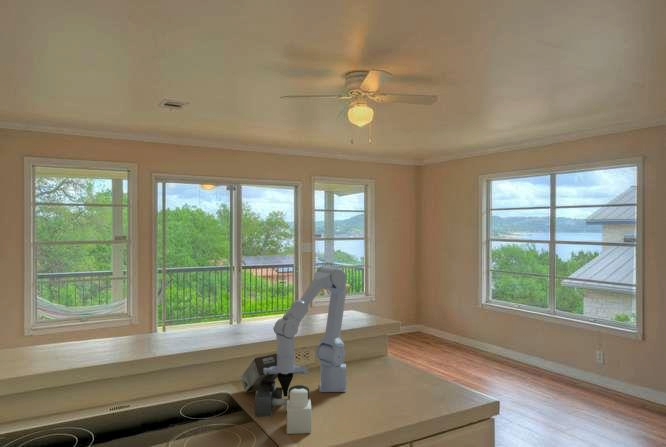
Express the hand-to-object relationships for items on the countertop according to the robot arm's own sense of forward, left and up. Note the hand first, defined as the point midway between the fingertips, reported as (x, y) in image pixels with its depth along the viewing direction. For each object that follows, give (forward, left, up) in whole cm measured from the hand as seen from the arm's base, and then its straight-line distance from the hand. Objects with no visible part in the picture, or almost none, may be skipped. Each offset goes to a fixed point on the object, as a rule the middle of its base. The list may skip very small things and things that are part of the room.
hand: (285, 395), depth 151 cm
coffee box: (+12, -13, 0) cm, 18 cm away
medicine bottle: (-5, +18, -3) cm, 19 cm away
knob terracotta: (+1, +7, -1) cm, 7 cm away
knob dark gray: (+5, 0, -1) cm, 6 cm away
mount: (+6, +3, -2) cm, 8 cm away
